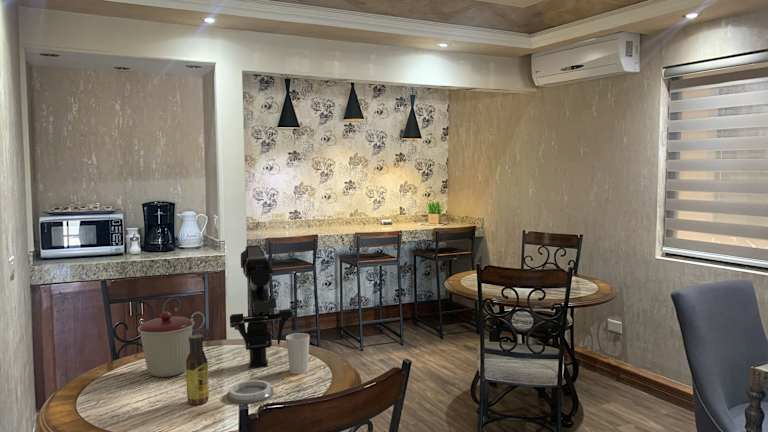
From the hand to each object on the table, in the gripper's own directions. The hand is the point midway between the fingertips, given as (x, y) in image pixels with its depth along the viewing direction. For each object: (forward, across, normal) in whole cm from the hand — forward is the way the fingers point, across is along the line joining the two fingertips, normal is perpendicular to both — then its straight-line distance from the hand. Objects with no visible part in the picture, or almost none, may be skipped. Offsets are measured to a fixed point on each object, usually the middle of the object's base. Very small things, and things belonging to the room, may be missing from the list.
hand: (263, 346), depth 180 cm
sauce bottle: (+13, -20, +9) cm, 25 cm away
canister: (-2, -30, +36) cm, 47 cm away
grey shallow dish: (+12, -4, +9) cm, 16 cm away
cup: (+5, +13, +23) cm, 27 cm away
